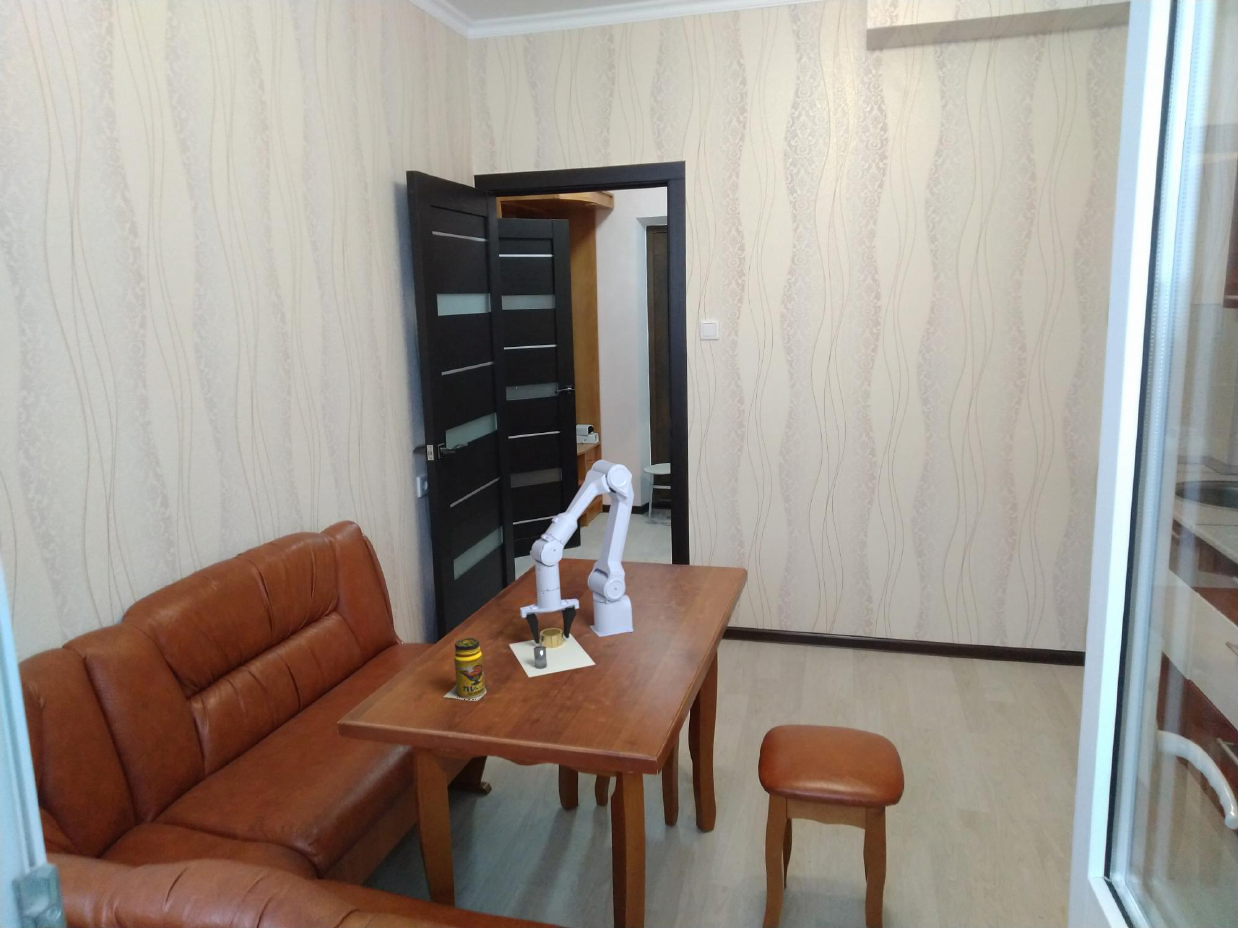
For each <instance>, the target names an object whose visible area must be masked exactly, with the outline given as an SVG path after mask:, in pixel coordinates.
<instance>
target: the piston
mask: <svg viewBox="0 0 1238 928" xmlns="http://www.w3.org/2000/svg"><path fill="white" fill-rule="evenodd" d="M534 660H535V668H537V669H543V668H546V667H547V659H546V647H545V646H537V647H535V648H534Z"/></svg>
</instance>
